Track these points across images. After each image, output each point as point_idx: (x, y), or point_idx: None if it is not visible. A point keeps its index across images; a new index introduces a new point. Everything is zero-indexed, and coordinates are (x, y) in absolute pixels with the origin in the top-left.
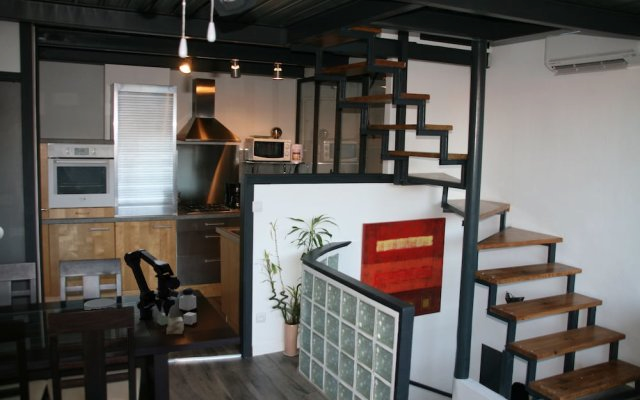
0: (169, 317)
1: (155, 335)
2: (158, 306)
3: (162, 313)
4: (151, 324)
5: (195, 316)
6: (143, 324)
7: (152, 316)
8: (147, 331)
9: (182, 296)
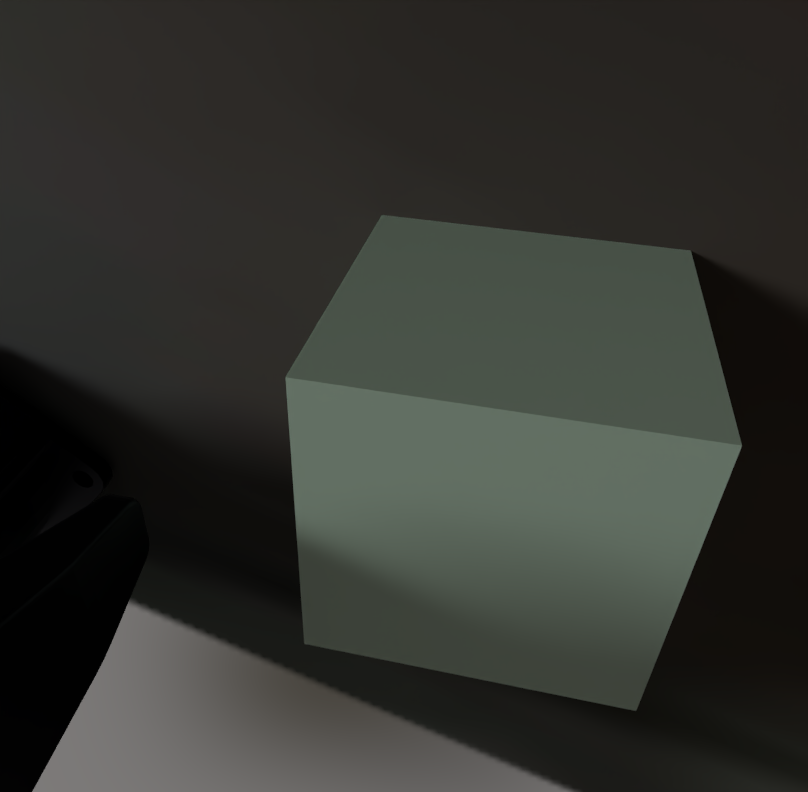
0: (716, 381)
1: None
2: (7, 777)
3: (343, 531)
4: None
5: None
6: None
7: (2, 424)
8: (747, 784)
9: None
